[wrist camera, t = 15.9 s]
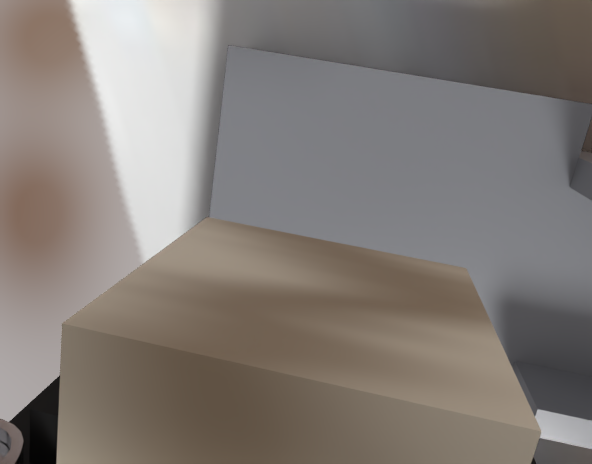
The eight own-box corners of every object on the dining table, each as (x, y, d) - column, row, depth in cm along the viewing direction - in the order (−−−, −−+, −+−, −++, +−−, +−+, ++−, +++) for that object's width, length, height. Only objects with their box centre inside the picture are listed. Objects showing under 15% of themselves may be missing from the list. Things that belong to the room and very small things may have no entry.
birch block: (466, 267, 10) (541, 430, 5) (408, 489, 11) (426, 776, 7) (207, 217, 11) (62, 322, 6) (181, 433, 12) (47, 663, 7)
